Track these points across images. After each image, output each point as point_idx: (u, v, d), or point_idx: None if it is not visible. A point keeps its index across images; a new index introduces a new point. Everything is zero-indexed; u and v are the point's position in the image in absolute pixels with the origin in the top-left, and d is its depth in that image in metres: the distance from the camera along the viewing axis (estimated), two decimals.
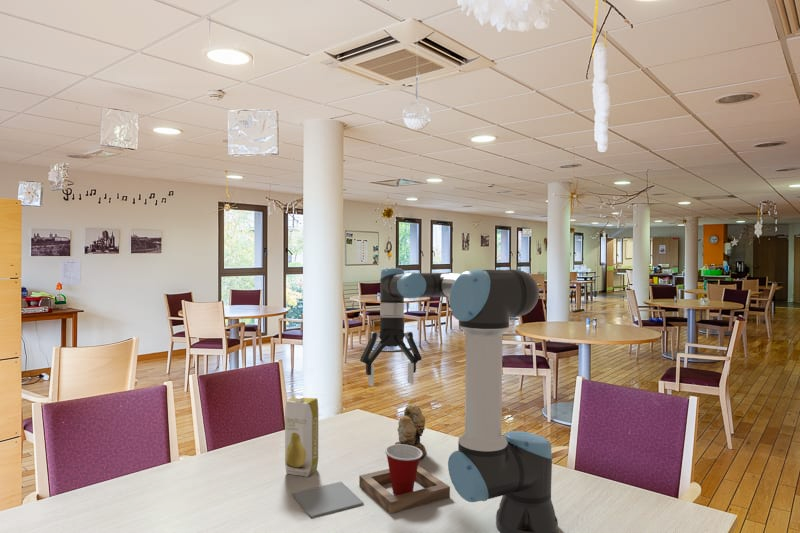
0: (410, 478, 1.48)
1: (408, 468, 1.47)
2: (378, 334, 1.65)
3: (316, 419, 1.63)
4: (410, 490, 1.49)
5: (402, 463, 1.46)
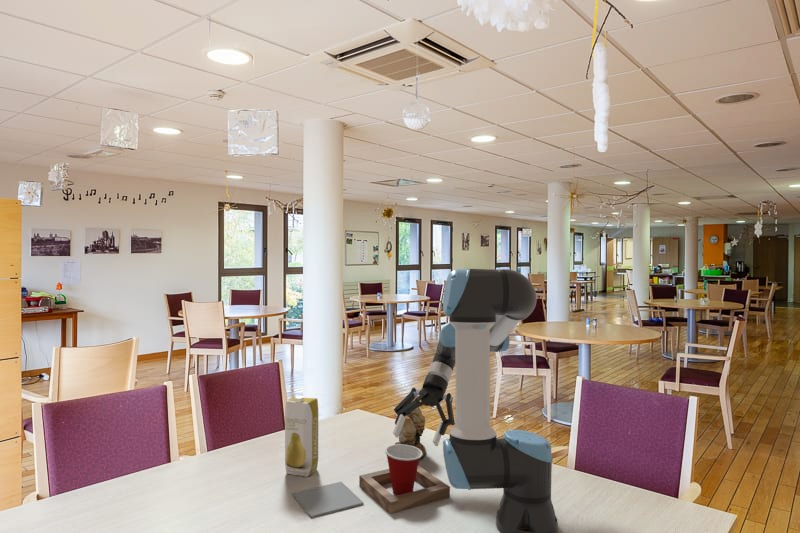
0: (410, 478, 1.48)
1: (408, 468, 1.47)
2: (418, 391, 1.69)
3: (316, 419, 1.63)
4: (410, 490, 1.49)
5: (402, 463, 1.46)
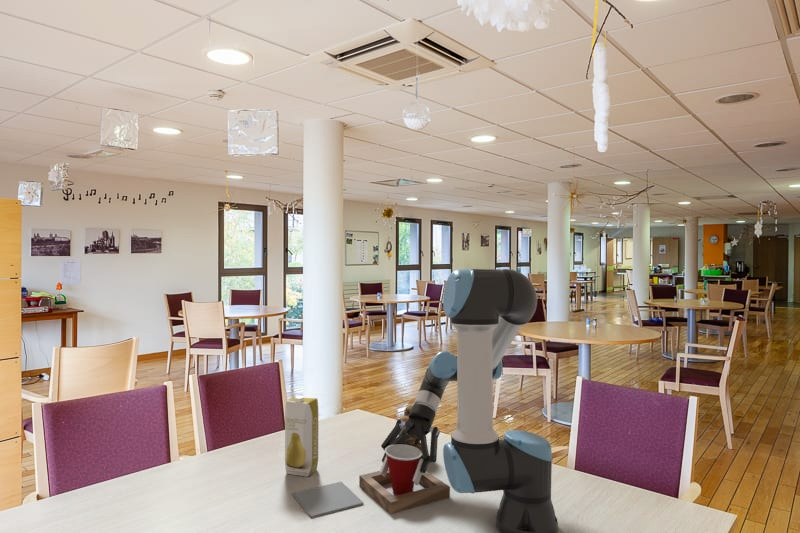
0: (410, 478, 1.48)
1: (407, 468, 1.47)
2: (403, 422, 1.60)
3: (316, 419, 1.63)
4: (410, 490, 1.49)
5: (402, 463, 1.46)
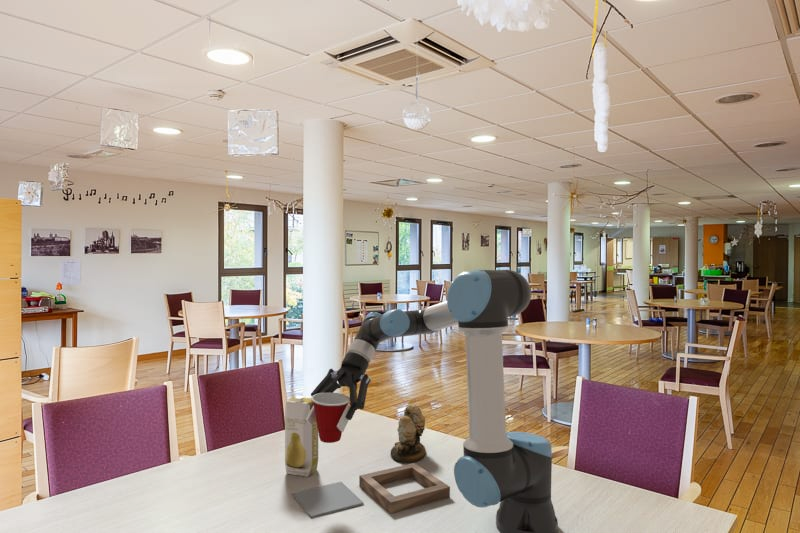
0: (336, 425, 1.43)
1: (333, 414, 1.42)
2: (336, 371, 1.56)
3: None
4: (337, 437, 1.44)
5: (326, 409, 1.42)
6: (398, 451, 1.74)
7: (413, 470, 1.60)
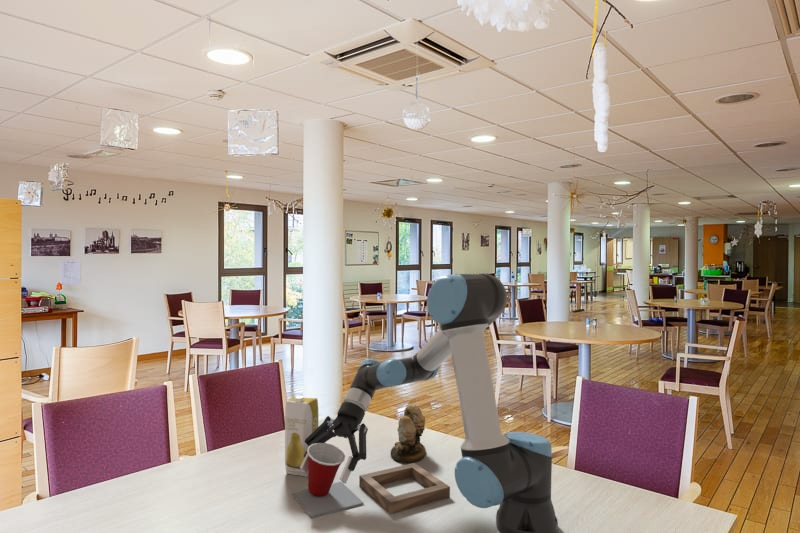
0: (327, 481, 1.45)
1: (326, 472, 1.43)
2: (332, 420, 1.55)
3: (316, 419, 1.63)
4: (325, 492, 1.46)
5: (321, 466, 1.43)
6: (398, 451, 1.74)
7: (413, 470, 1.60)
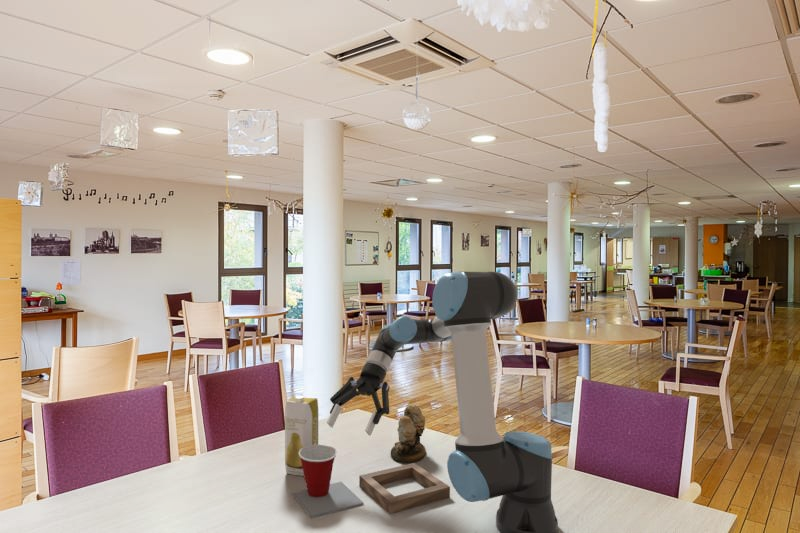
0: (323, 479, 1.45)
1: (320, 470, 1.44)
2: (355, 380, 1.65)
3: (316, 419, 1.63)
4: (324, 491, 1.46)
5: (313, 465, 1.44)
6: (398, 451, 1.74)
7: (413, 470, 1.60)
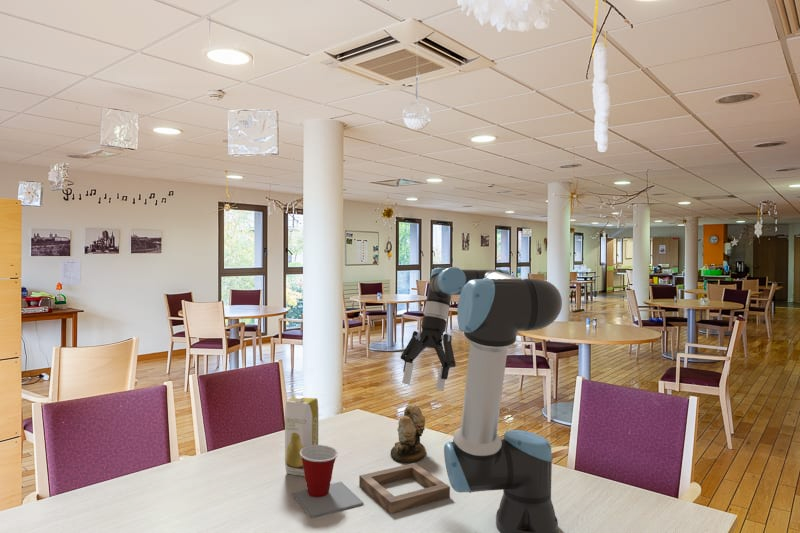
0: (324, 479, 1.45)
1: (320, 470, 1.44)
2: (419, 334, 1.64)
3: (316, 419, 1.63)
4: (324, 492, 1.47)
5: (314, 464, 1.44)
6: (398, 451, 1.74)
7: (413, 470, 1.60)
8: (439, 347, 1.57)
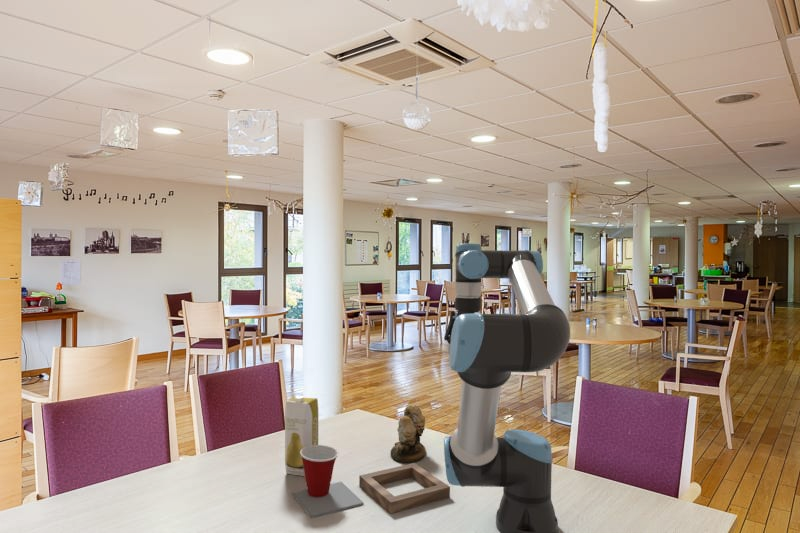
0: (324, 479, 1.45)
1: (321, 470, 1.44)
2: (456, 314, 1.56)
3: (316, 419, 1.63)
4: (324, 492, 1.47)
5: (315, 464, 1.44)
6: (398, 451, 1.74)
7: (413, 470, 1.60)
8: None
